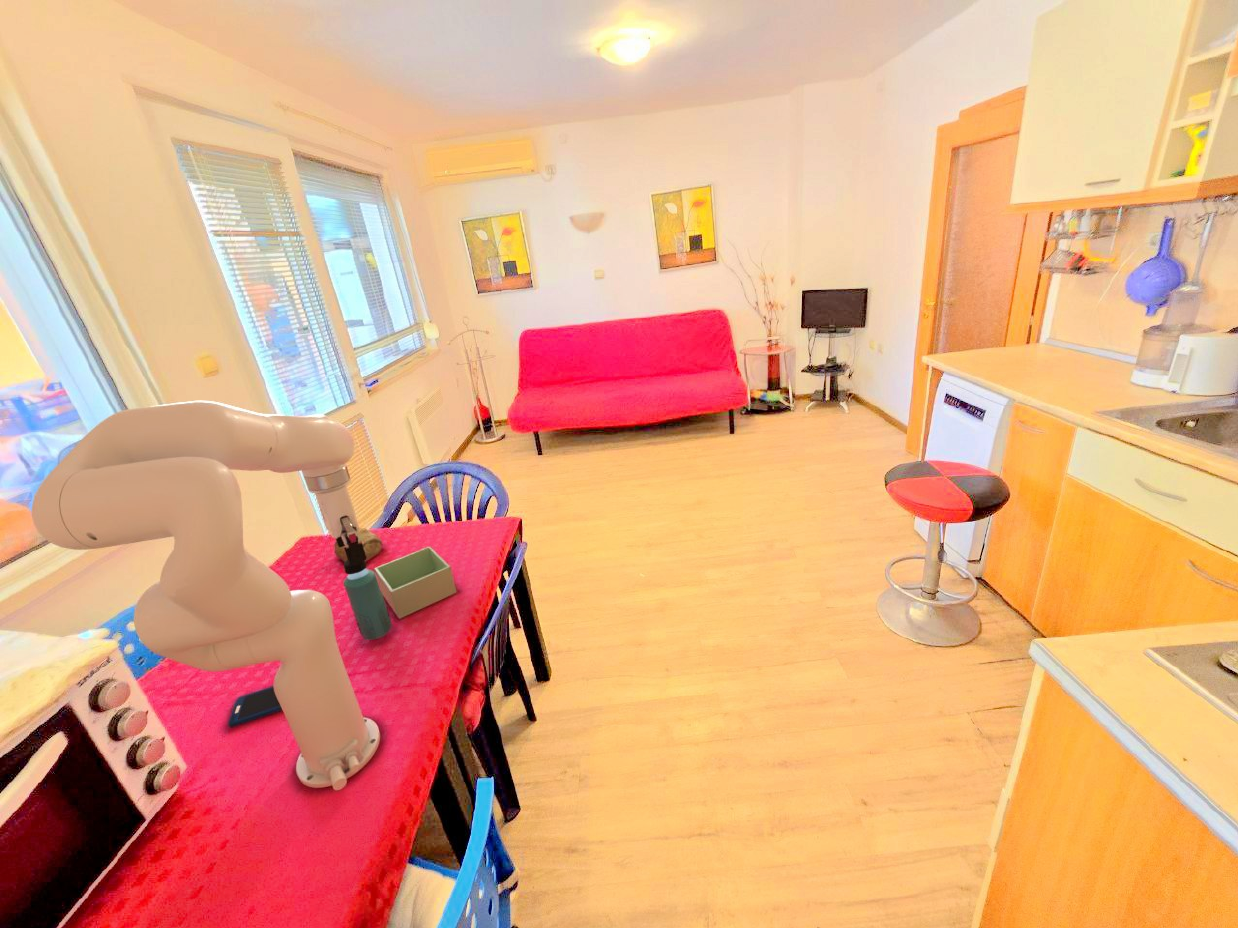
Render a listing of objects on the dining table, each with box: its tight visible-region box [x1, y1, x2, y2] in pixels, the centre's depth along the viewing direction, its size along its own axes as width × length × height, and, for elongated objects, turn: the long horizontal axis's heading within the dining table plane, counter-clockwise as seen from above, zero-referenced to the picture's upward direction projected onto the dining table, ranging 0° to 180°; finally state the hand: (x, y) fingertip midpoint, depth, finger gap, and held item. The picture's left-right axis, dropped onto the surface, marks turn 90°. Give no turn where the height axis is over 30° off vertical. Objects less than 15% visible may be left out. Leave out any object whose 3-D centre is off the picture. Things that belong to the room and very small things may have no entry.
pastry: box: [333, 527, 383, 563], centre depth 147 cm, size 14×12×8 cm
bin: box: [374, 546, 457, 620], centre depth 126 cm, size 14×14×8 cm
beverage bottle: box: [343, 560, 393, 641], centre depth 109 cm, size 6×7×20 cm
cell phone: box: [227, 685, 283, 728], centre depth 97 cm, size 7×14×1 cm, turn 114°
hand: (352, 552), depth 105 cm, fingers open, 9 cm apart
